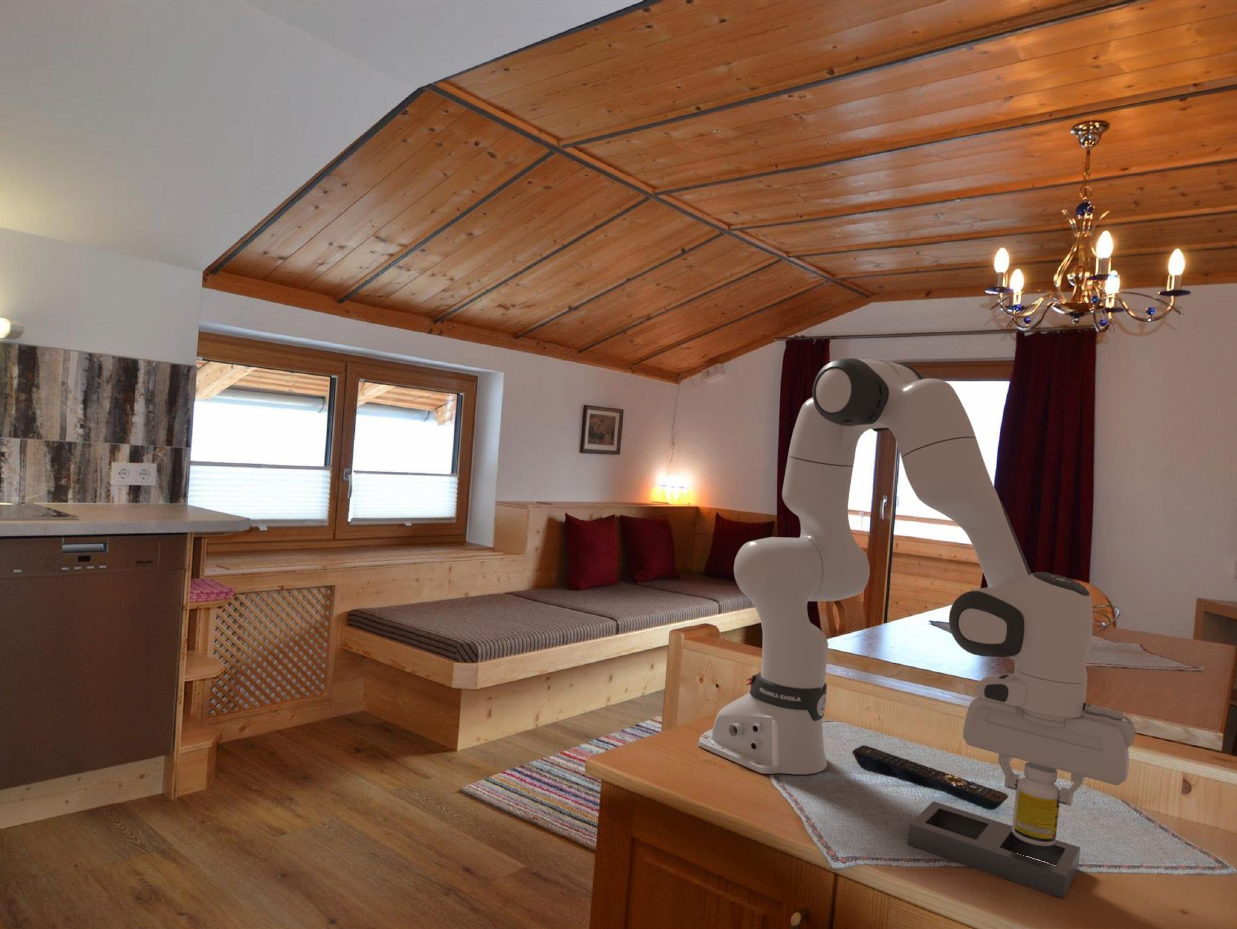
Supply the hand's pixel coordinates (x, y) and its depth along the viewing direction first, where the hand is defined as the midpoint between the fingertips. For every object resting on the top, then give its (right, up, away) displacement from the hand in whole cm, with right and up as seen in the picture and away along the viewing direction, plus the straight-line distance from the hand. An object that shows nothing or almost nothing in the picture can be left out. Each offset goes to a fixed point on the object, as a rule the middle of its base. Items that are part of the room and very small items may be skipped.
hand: (1037, 795), depth 119 cm
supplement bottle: (-1, -6, 0) cm, 6 cm away
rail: (-5, -10, +3) cm, 11 cm away
